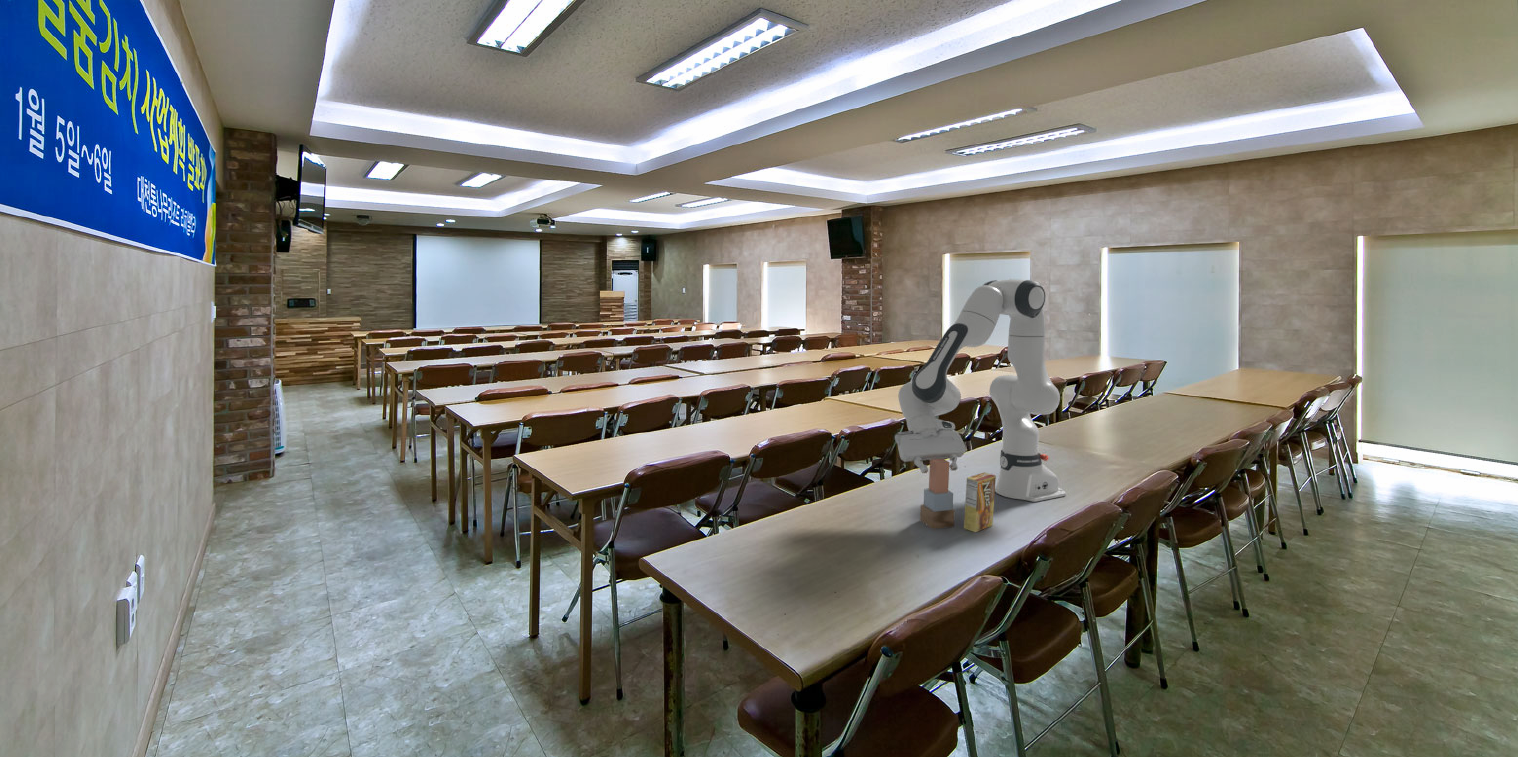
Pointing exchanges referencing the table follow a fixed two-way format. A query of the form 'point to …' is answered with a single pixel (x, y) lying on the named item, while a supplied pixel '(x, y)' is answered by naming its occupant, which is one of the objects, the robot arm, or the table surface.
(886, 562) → the table surface
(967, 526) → the candy box
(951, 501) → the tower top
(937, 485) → the post
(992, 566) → the table surface
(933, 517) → the tower base
